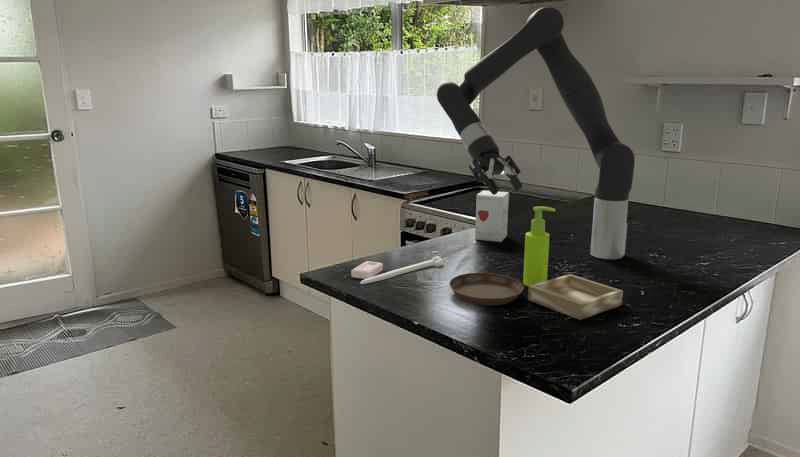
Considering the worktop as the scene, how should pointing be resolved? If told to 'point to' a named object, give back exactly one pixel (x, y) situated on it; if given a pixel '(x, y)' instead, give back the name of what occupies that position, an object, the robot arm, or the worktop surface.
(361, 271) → the soap bar
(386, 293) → the worktop surface
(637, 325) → the worktop surface
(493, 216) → the supplement box
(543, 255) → the soap dispenser
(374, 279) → the white ball-headed stick
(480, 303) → the plant saucer
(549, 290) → the birch crate
